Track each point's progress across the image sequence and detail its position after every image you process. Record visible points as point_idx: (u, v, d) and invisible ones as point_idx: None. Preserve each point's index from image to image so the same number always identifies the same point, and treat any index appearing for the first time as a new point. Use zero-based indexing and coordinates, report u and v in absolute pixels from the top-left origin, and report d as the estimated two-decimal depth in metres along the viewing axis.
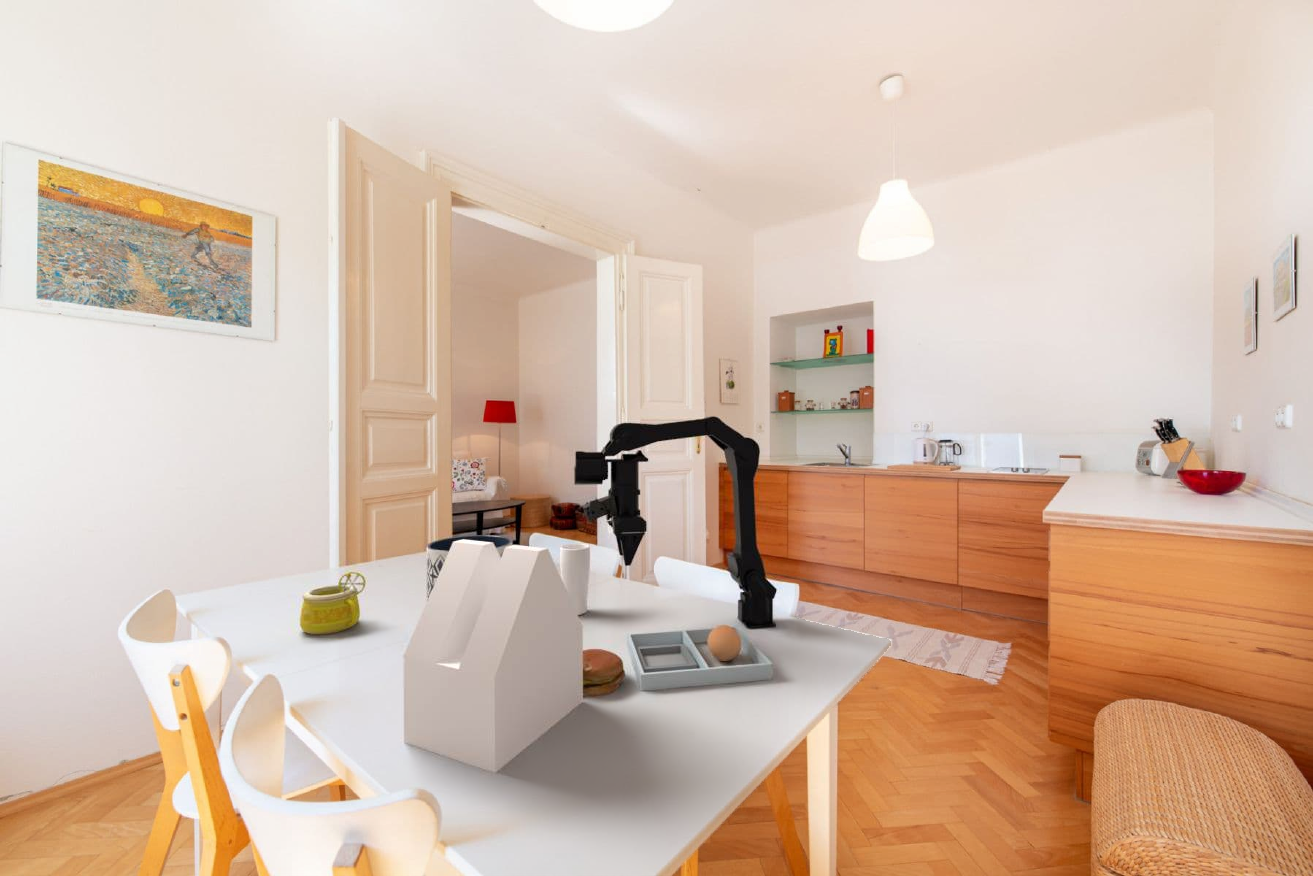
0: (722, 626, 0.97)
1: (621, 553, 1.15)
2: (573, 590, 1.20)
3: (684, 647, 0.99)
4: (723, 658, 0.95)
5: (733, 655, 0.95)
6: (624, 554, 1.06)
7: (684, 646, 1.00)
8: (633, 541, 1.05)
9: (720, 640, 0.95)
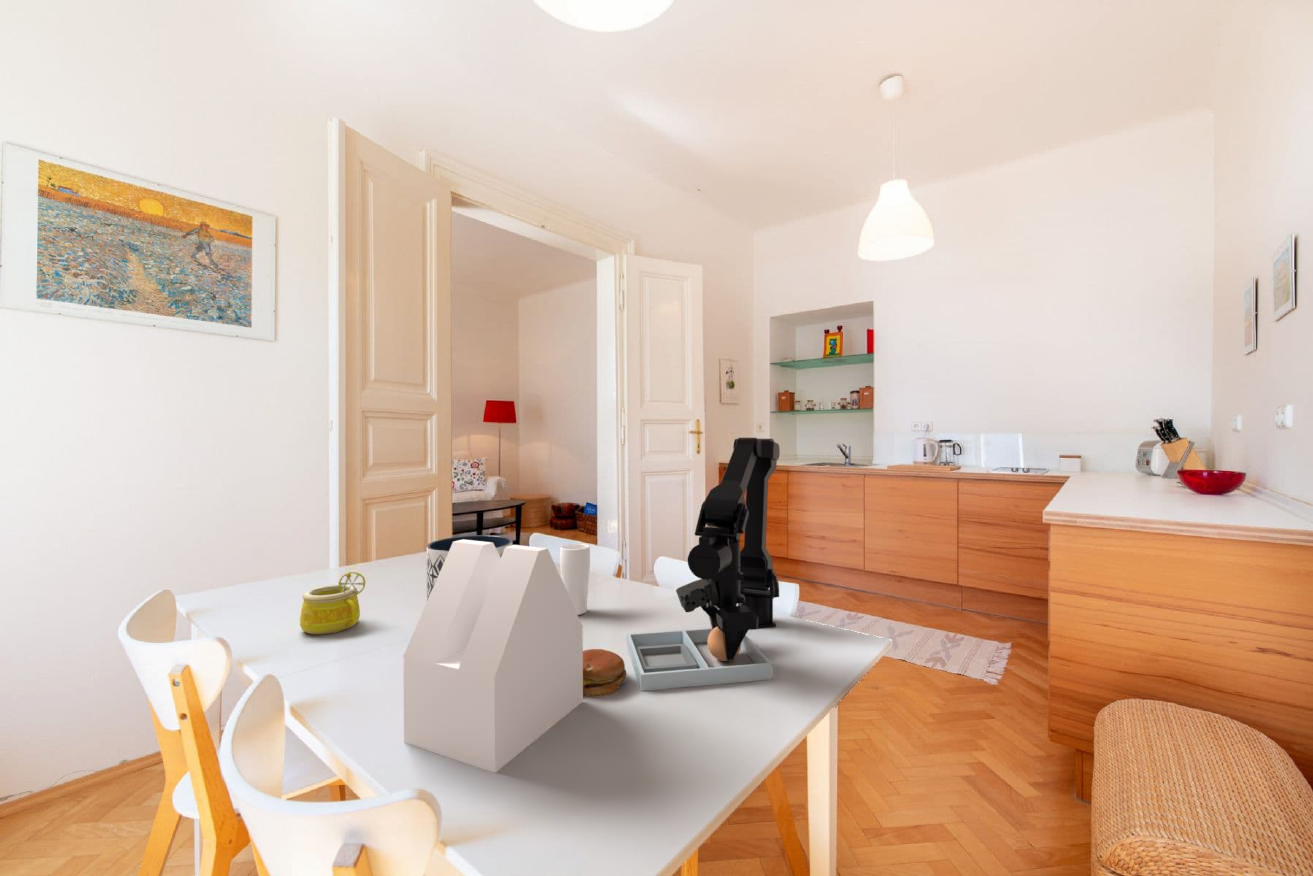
0: None
1: None
2: (573, 590, 1.20)
3: (684, 647, 0.99)
4: (723, 658, 0.95)
5: None
6: (727, 648, 0.93)
7: (684, 646, 1.00)
8: (737, 633, 0.93)
9: (720, 640, 0.95)
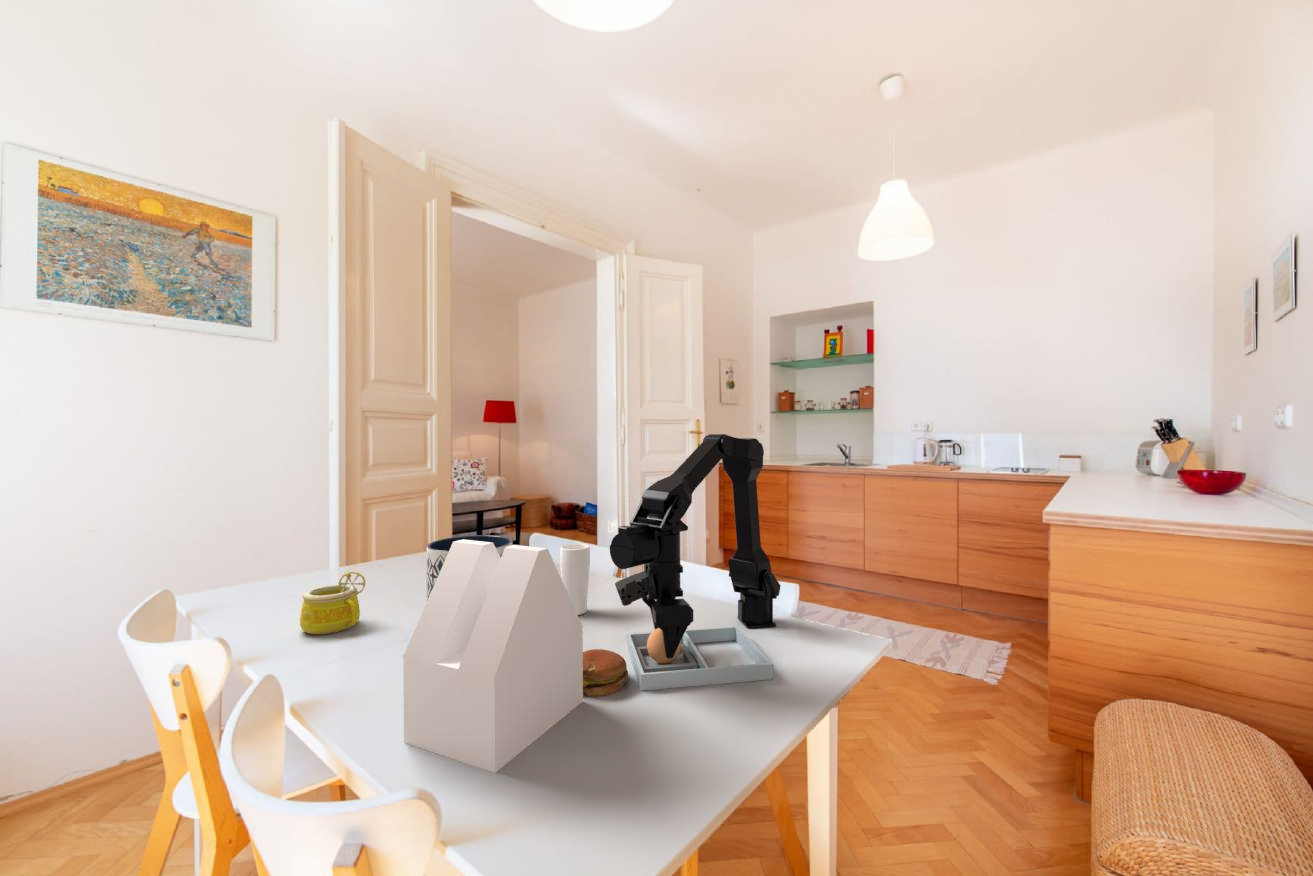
0: None
1: None
2: (573, 590, 1.20)
3: (684, 647, 0.99)
4: (661, 660, 0.93)
5: None
6: (666, 645, 0.90)
7: (684, 646, 1.00)
8: (676, 630, 0.90)
9: (658, 640, 0.93)
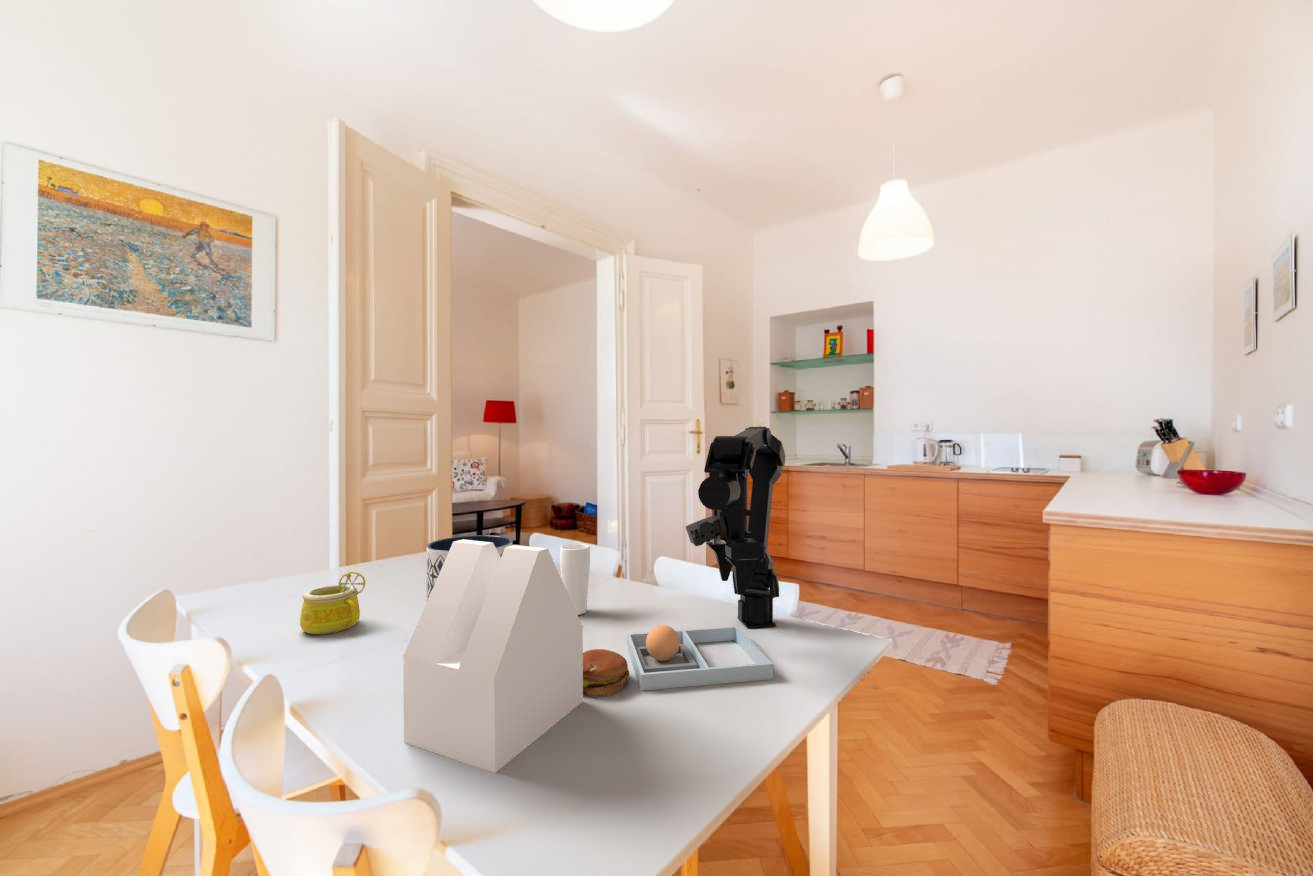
0: None
1: (724, 578, 1.05)
2: (573, 590, 1.20)
3: (684, 647, 0.99)
4: (661, 653, 0.94)
5: (670, 649, 0.94)
6: (738, 582, 0.95)
7: (684, 646, 1.00)
8: (748, 568, 0.95)
9: (656, 633, 0.95)
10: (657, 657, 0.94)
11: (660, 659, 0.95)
